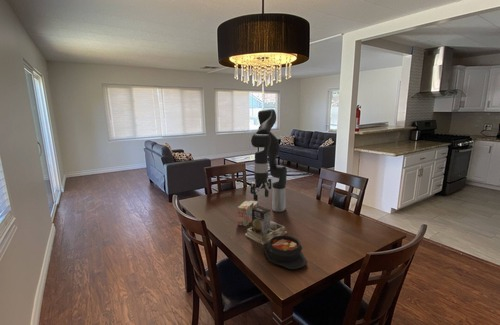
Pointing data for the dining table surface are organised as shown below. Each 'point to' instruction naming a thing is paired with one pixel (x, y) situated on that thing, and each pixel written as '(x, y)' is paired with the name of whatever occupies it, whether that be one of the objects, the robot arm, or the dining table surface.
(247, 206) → the stack of blocks
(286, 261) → the casserole
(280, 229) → the caddy
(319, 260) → the dining table surface
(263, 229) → the coffee box
